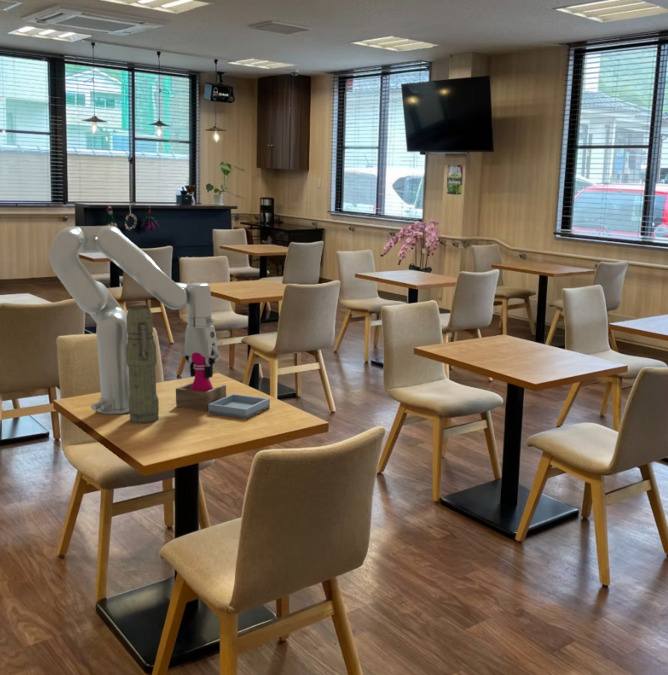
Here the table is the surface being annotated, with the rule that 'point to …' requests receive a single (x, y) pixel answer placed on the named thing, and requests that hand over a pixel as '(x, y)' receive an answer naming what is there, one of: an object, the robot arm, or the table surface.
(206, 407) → the walnut bay
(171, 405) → the table surface
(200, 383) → the pepper mill
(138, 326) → the olive piece
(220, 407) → the slate tray
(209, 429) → the table surface
